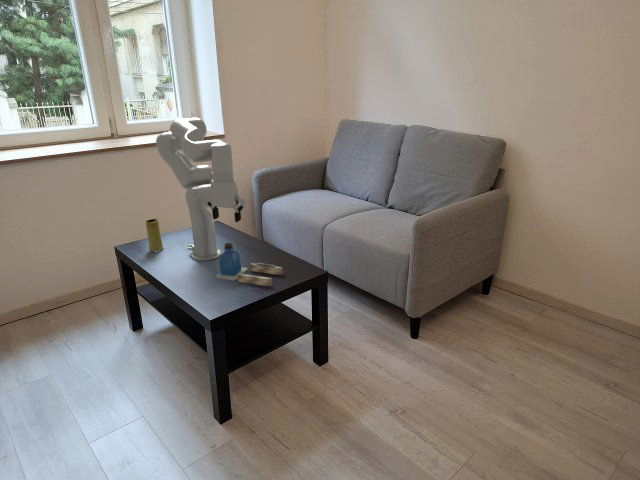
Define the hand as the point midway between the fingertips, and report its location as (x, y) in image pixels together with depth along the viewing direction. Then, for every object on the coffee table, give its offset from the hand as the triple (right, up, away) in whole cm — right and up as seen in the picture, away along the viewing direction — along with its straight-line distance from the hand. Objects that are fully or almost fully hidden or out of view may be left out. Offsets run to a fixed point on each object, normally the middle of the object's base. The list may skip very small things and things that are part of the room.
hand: (227, 219), depth 172 cm
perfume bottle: (0, -21, +6) cm, 22 cm away
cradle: (+13, -23, +3) cm, 26 cm away
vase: (-39, -13, +31) cm, 52 cm away
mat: (0, -21, +7) cm, 22 cm away
